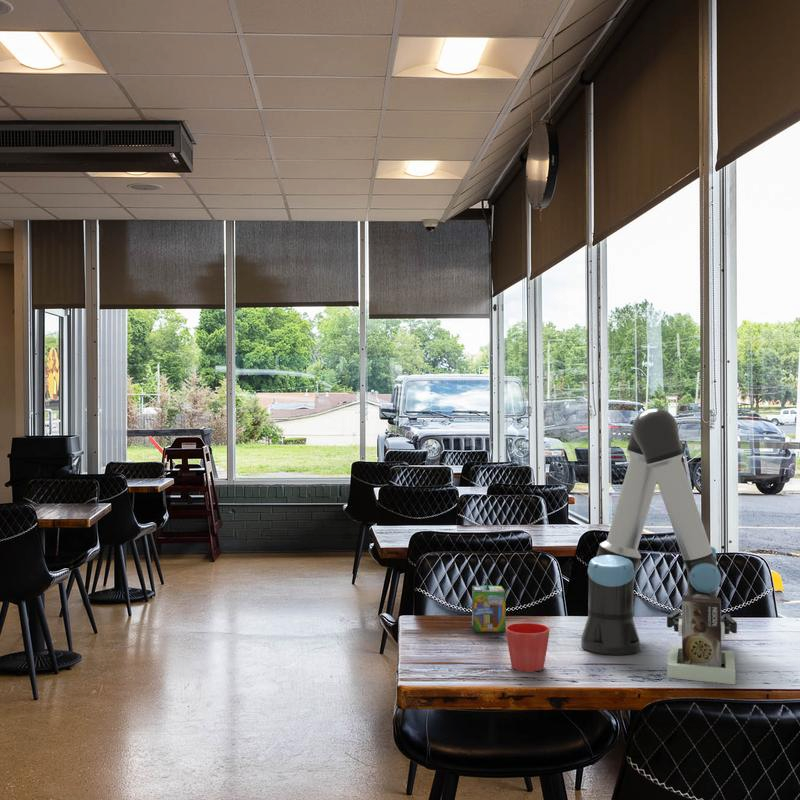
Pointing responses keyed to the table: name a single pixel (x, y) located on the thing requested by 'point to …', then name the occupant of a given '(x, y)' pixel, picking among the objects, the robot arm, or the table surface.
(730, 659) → the sage collar
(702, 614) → the coffee box
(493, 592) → the chalk box
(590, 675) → the table surface
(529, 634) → the flower pot
